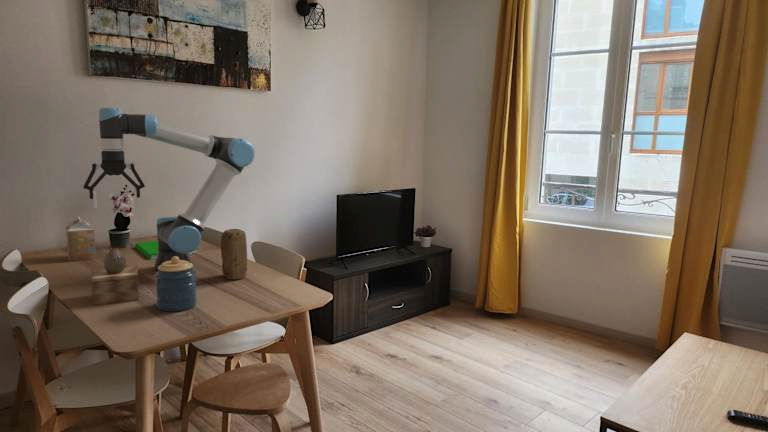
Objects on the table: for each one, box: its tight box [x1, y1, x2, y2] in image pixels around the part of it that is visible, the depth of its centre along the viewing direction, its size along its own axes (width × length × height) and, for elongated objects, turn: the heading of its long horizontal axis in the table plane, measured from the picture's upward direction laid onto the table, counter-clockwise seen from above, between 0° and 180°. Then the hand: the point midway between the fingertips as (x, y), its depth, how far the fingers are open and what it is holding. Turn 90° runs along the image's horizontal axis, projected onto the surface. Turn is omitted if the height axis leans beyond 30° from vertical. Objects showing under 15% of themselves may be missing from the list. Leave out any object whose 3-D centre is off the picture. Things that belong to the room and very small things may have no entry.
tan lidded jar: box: [65, 216, 97, 263], centre depth 231 cm, size 11×11×19 cm
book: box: [134, 240, 199, 261], centre depth 251 cm, size 22×28×3 cm
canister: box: [154, 256, 198, 313], centre depth 173 cm, size 13×13×18 cm
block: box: [220, 228, 248, 281], centre depth 208 cm, size 11×8×20 cm
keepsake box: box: [91, 277, 140, 306], centre depth 181 cm, size 14×12×8 cm
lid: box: [90, 266, 139, 283], centre depth 180 cm, size 14×12×1 cm
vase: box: [103, 247, 127, 274], centre depth 179 cm, size 7×7×9 cm
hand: (116, 207), depth 190 cm, fingers open, 13 cm apart
